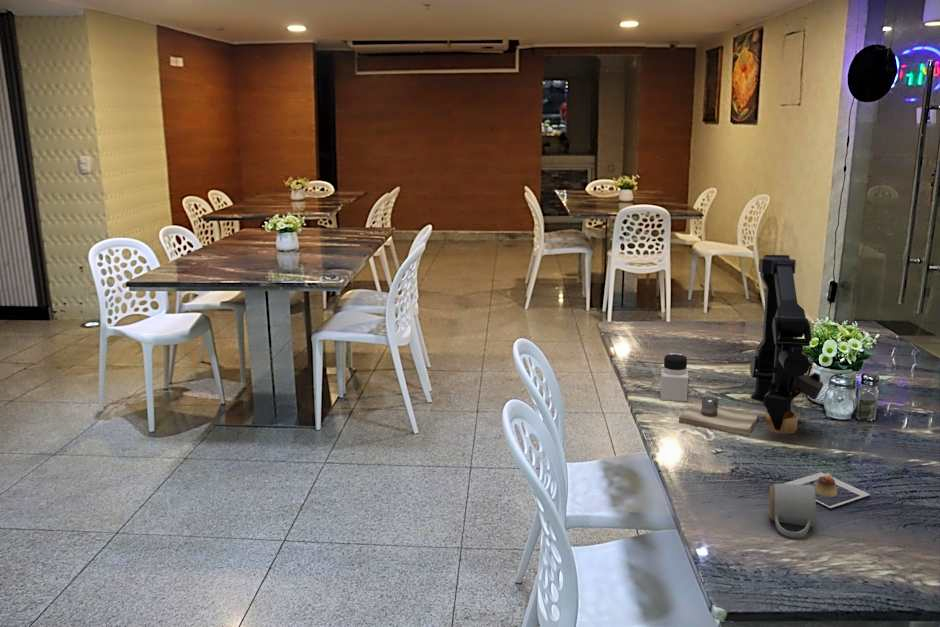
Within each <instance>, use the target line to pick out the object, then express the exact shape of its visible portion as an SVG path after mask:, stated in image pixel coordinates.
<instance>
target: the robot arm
mask: <svg viewBox="0 0 940 627" xmlns="http://www.w3.org/2000/svg"><path fill="white" fill-rule="evenodd" d="M796 263H797V260H796V259H794V258H791V257H790V255H788V254H764V255H763V257H762V258H759V260H758V272H759V273H760V280H761V281H762V282H763V284H764V286H765V296H764V311H763V312H764V314H763V326H762V327H763V328H762V340H761V342H760V343H759V344H758V345H757V346H756V348H755V354H754V355H753V357H752V359H751V362H750V365H749V373H750V375H751V377H752V379H753V378H755V383H754V384H755V385H754V392H753V393H752V394H751V396H750V398H751V399H753V398H755V400H759V399H760V401H763V406H764V407H765V408H766V410H767V411H768V413H769V415H770V417H771V420H772V422H773V425H774V428H775V429H776V430H780V428H781V425H782V422H783V419H784V415H785V412H787V411H789V410H792V408H793V405H794V404H793V403H794V401H795V400H794V399H795V398H796V397H797V396H799V395H800V394H803V395H805V396H807V397H809V398H810V399H812V400H817V398H818V396H819V394H820V393H821V390H822V389H823V387H824V385H825V384H824V382H823V381H822V380H821V374H820V373H817V372H812V373H811V374H810V375H809V374H806V373H808V372H809V369H810V365H811V363H810V361H809V358H808V356H807V355H806V353H804V351H803V349H804V347H810V345H811V341H812V339H813V337H812V329H811V323H810V322H809V319H808V318H807V317H806V312H805V310H804V307H802V306H800V304H799V303H798V298H797V290H796V284H795V277H794V274H796V267H797V266H796ZM803 337H804V338H803ZM767 411H766V412H767Z"/></svg>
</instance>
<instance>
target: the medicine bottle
mask: <svg viewBox="0 0 940 627" xmlns="http://www.w3.org/2000/svg"><path fill="white" fill-rule="evenodd" d="M687 365H688V358H687V356H686V355H683V354H681V353H669V354H666V355H665V356H664V358H663V367H662V368H661V369H660V384H659V395H660V400H661V401H670V402H671V401H673V402H686V401H687V402H688V397H689V383H690V382H689V381H690V376H689V372H688V369H687Z"/></svg>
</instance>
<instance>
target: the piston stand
mask: <svg viewBox="0 0 940 627" xmlns="http://www.w3.org/2000/svg"><path fill="white" fill-rule="evenodd" d="M701 409H702V403H697V402H692V403H691V404H690V405H689V406H688V407H687V408H686V409H685V410H684V411H683V412H682V413H681V415H679V417H678V423H679V424H683V423H684V425H688V424H689V426H695V427H699V426H700V428H705V429H710V430H711V429H712V430H715V431H721V432H726V433H730V432H731V434H736V435H741V434H742V436H746V435H747V436H749V435H750V433H751V432H752V430H753V429H754V427H755V426H756V424H757V423H758V421H759V419H760V418H759V417H760V414H758V413H755V412H748V411H744V410H743V411H742V410H738V409H737V410H736V409H731V408H726V407H721V406H720V407H719V406H718V414H717V416H715V417H708V416H704V415H702V414H701Z"/></svg>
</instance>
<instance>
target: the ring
mask: <svg viewBox="0 0 940 627" xmlns="http://www.w3.org/2000/svg"><path fill="white" fill-rule="evenodd" d="M765 415H766V416H765V424H764V428H765V429H767V430H769V431H770V433H771V432H772V433H776V434H781V435H788V434H789V433H790V434H795V433H796V432H797V429H798V424H799V422H798V420H799V413H798V412H796V411H794V410H793V409H791V410H789V411H787V412H785V415H784V419H783V422H782V425H781V428H780V430H776V429H775V428H774V425H773V422H772V420H771V417H770V415H769V413H768V411H766V413H765ZM795 431H796V432H795Z"/></svg>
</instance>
